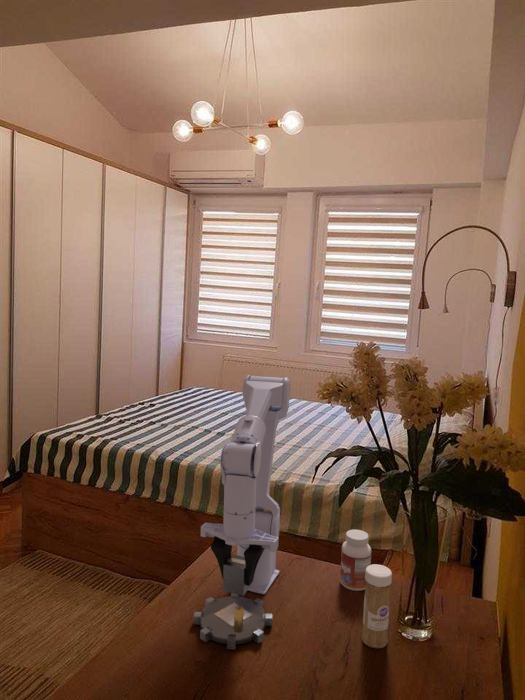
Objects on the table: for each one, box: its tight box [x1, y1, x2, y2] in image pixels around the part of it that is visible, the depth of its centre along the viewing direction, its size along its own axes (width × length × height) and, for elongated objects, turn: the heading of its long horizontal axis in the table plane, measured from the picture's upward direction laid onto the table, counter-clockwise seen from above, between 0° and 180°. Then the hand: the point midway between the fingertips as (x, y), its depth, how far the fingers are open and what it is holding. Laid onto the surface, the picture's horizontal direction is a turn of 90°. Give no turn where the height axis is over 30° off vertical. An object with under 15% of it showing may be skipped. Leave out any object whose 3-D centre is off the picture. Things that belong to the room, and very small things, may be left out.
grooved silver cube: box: [222, 553, 252, 597], centre depth 96 cm, size 4×4×5 cm
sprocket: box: [193, 593, 273, 650], centre depth 97 cm, size 14×14×6 cm
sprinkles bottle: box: [361, 563, 393, 649], centre depth 93 cm, size 5×5×14 cm
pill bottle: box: [339, 529, 372, 592], centre depth 112 cm, size 6×6×11 cm
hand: (237, 579), depth 96 cm, fingers closed on grooved silver cube, 4 cm apart
